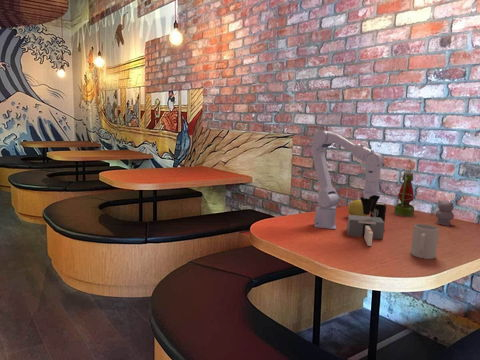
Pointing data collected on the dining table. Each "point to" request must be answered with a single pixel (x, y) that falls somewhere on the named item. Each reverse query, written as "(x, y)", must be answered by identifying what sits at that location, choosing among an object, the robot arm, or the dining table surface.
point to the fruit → (356, 208)
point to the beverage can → (379, 211)
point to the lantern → (405, 195)
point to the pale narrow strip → (368, 235)
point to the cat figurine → (444, 212)
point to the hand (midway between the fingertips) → (368, 213)
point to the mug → (424, 241)
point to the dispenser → (358, 226)
